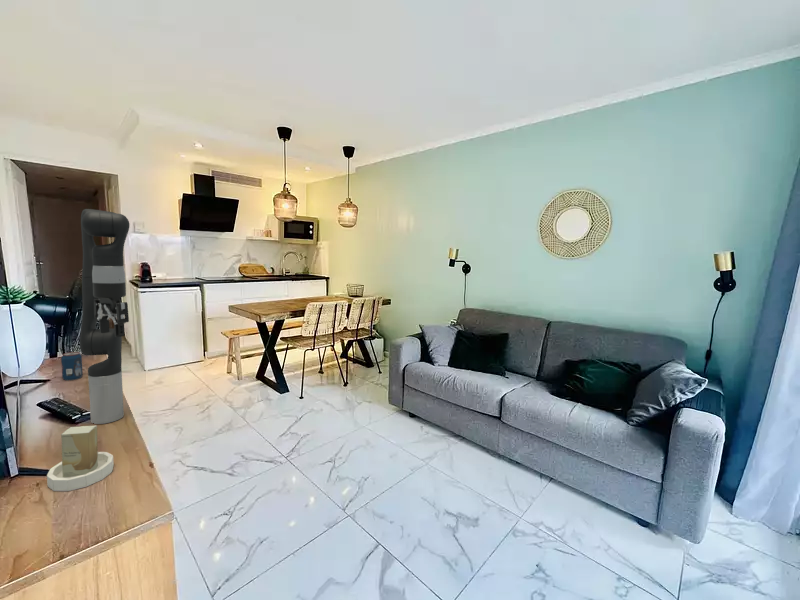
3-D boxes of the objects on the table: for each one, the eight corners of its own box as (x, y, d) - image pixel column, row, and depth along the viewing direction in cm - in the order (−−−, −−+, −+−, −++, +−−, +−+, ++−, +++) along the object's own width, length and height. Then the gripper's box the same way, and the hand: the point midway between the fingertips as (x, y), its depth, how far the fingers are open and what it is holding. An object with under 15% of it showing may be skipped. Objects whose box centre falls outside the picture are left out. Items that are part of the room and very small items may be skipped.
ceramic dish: (39, 480, 93) (38, 470, 92) (98, 456, 104) (98, 447, 104) (62, 497, 87) (61, 486, 87) (122, 470, 99) (122, 460, 98)
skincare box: (62, 478, 93) (58, 434, 91) (71, 468, 97) (68, 426, 95) (91, 474, 95) (88, 432, 93) (99, 465, 99) (97, 424, 97)
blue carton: (66, 376, 165) (64, 352, 164) (85, 375, 168) (83, 351, 167) (59, 381, 159) (57, 356, 158) (79, 380, 162) (77, 355, 161)
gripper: (137, 282, 104) (139, 335, 106) (111, 279, 110) (113, 329, 112) (106, 283, 97) (109, 340, 99) (81, 279, 103) (84, 333, 105)
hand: (112, 334), depth 106 cm, fingers open, 8 cm apart
